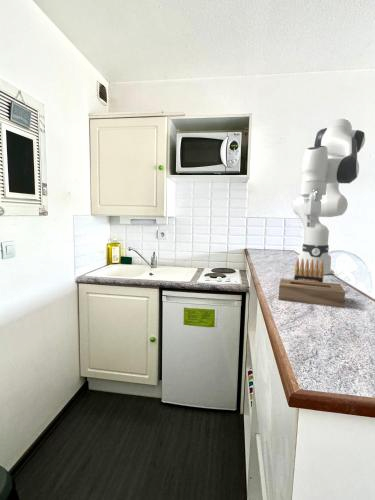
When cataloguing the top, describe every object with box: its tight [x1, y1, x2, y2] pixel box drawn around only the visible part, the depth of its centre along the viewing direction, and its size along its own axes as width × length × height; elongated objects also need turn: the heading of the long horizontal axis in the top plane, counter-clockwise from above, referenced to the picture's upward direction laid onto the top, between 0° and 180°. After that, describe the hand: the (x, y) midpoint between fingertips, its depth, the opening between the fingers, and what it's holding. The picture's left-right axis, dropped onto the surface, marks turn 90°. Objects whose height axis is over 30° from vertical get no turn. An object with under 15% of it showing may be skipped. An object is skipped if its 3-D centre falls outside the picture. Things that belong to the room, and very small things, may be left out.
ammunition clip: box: [293, 257, 324, 282], centre depth 109 cm, size 11×2×12 cm, turn 64°
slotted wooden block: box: [278, 278, 346, 308], centre depth 97 cm, size 11×20×5 cm, turn 69°
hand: (310, 227), depth 106 cm, fingers open, 8 cm apart
